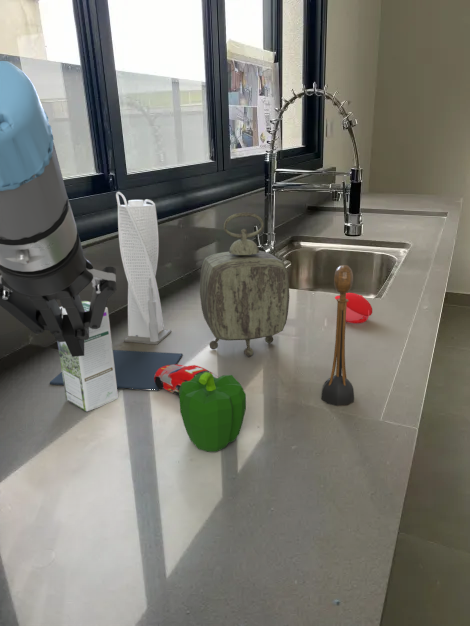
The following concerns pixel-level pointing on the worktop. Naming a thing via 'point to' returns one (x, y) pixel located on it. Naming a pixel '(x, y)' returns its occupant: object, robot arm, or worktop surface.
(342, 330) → the wooden tabletop sculpture
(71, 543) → the worktop surface
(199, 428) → the bell pepper
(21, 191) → the robot arm
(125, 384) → the mat
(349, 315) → the cap
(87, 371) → the syrup box
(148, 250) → the skyscraper
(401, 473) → the worktop surface
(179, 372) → the race car
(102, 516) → the worktop surface
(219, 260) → the tabletop clock
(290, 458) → the worktop surface
